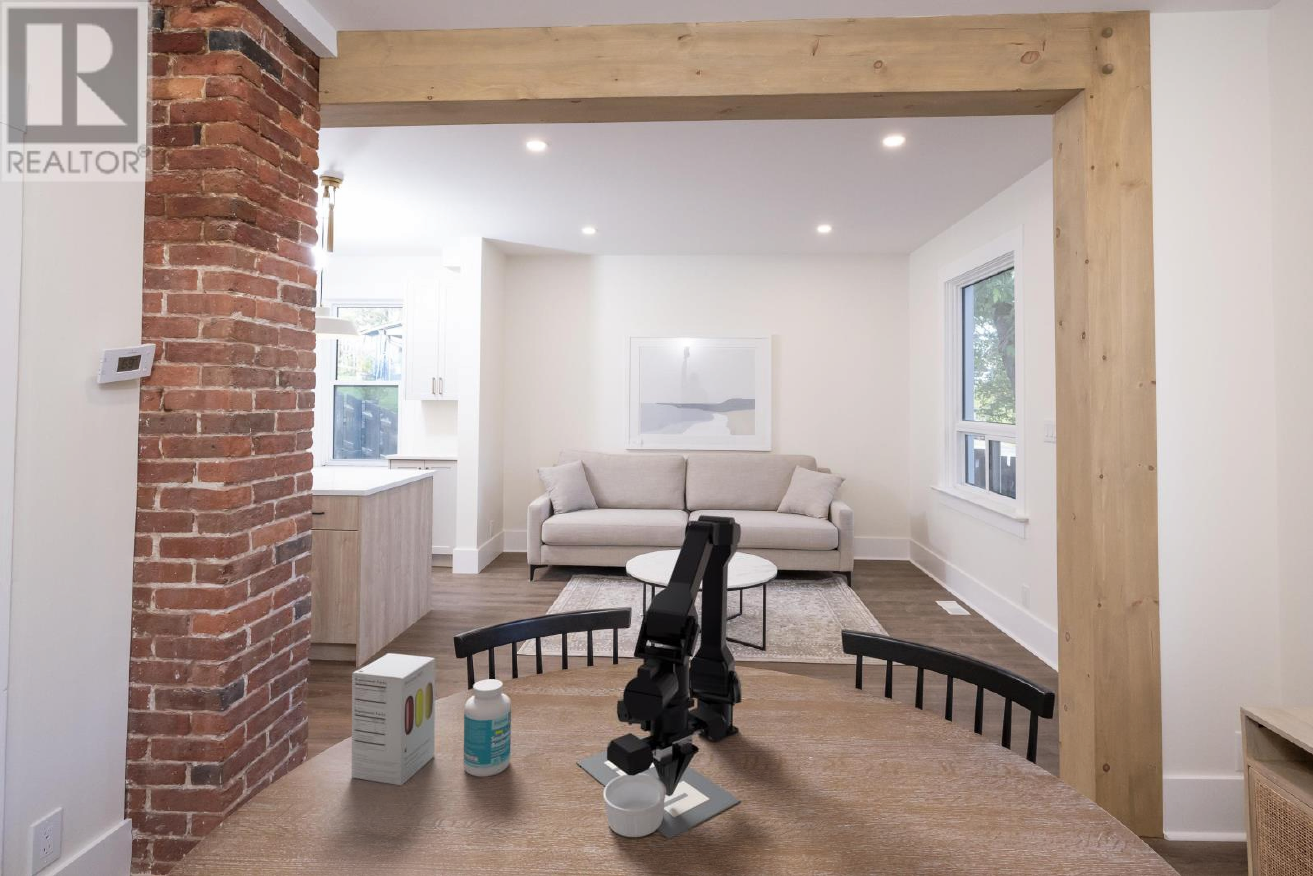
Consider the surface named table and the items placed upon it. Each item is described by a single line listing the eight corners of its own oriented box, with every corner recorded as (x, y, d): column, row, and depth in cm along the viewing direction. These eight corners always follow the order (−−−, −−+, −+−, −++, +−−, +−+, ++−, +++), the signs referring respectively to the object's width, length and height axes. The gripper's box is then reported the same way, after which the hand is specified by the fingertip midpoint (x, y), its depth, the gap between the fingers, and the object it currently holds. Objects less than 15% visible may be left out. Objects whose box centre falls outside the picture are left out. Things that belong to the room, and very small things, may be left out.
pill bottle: (498, 782, 99) (498, 696, 98) (454, 776, 100) (455, 692, 100) (518, 757, 106) (518, 677, 106) (477, 751, 107) (477, 673, 107)
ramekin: (593, 832, 87) (592, 802, 87) (620, 795, 95) (619, 767, 95) (652, 848, 84) (652, 816, 84) (675, 808, 92) (674, 779, 92)
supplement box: (401, 787, 97) (401, 679, 96) (349, 779, 99) (349, 673, 98) (436, 755, 106) (436, 656, 106) (388, 748, 108) (388, 651, 108)
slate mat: (643, 737, 113) (643, 735, 113) (740, 801, 94) (740, 799, 94) (576, 763, 104) (576, 761, 104) (668, 839, 86) (668, 837, 86)
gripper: (681, 659, 105) (680, 751, 105) (586, 688, 93) (585, 792, 94) (729, 681, 96) (727, 781, 97) (631, 716, 84) (630, 830, 85)
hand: (668, 794), depth 93 cm, fingers closed
